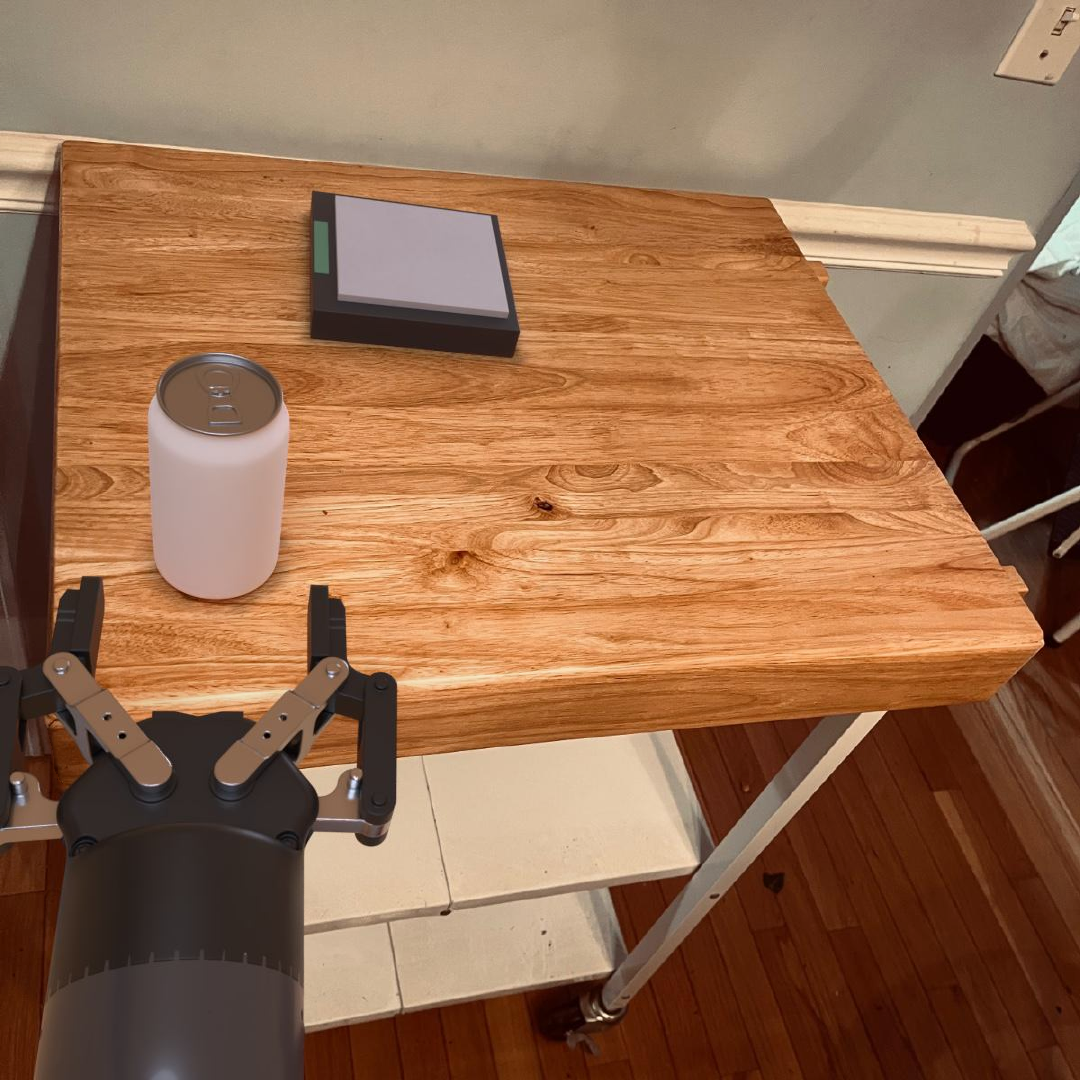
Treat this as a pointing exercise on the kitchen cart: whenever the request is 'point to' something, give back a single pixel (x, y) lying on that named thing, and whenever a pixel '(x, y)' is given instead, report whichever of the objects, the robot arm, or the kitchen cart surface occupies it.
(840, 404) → the kitchen cart surface
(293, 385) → the kitchen cart surface
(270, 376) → the can
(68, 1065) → the robot arm
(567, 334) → the kitchen cart surface
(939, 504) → the kitchen cart surface
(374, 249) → the scale
